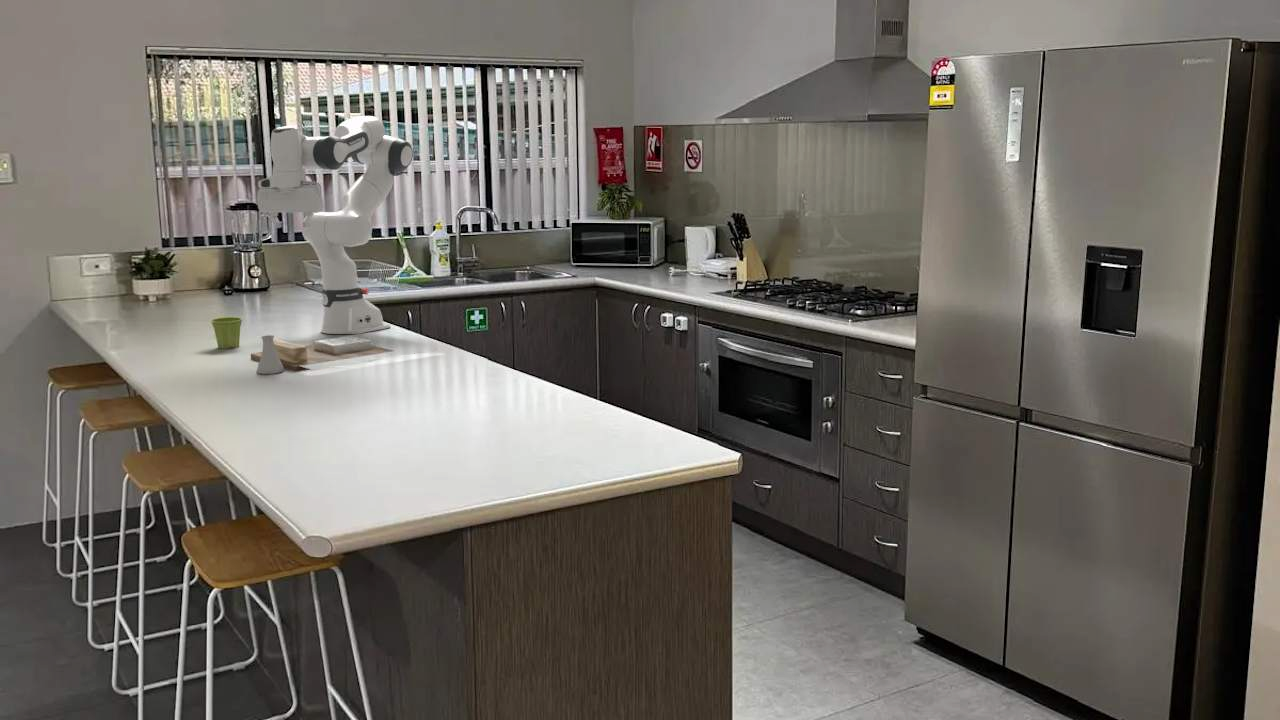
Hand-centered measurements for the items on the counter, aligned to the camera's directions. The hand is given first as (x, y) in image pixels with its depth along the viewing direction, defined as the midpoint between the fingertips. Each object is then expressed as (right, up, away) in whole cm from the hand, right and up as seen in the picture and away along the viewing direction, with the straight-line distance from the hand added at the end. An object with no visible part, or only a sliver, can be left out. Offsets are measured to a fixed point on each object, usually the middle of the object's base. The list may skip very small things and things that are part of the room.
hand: (292, 227), depth 348 cm
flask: (+4, -44, -33) cm, 55 cm away
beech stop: (+4, -39, -21) cm, 45 cm away
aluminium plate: (+18, -37, -9) cm, 42 cm away
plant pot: (-22, -36, +7) cm, 43 cm away
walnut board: (+13, -39, -13) cm, 43 cm away
